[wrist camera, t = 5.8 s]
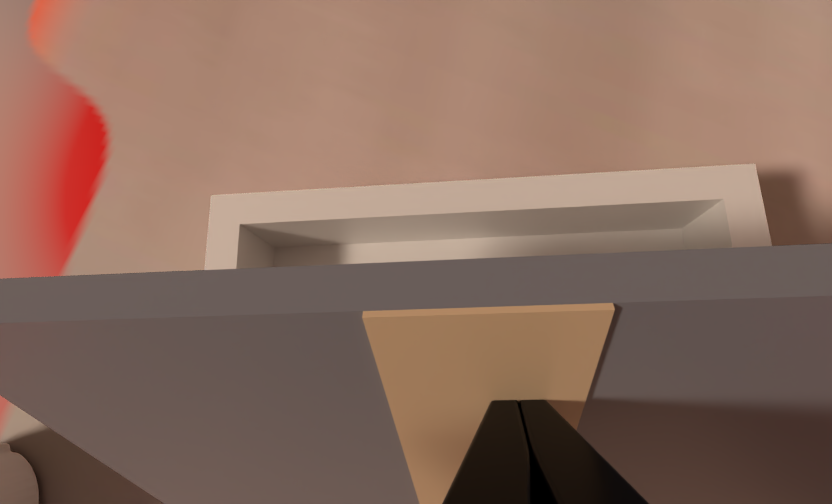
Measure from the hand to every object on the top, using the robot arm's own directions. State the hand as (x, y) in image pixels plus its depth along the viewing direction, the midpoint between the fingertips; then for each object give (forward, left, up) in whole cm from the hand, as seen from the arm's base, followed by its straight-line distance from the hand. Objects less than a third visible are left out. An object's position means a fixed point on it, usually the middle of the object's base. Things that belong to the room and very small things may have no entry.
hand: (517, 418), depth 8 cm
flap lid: (0, 0, -1) cm, 2 cm away
